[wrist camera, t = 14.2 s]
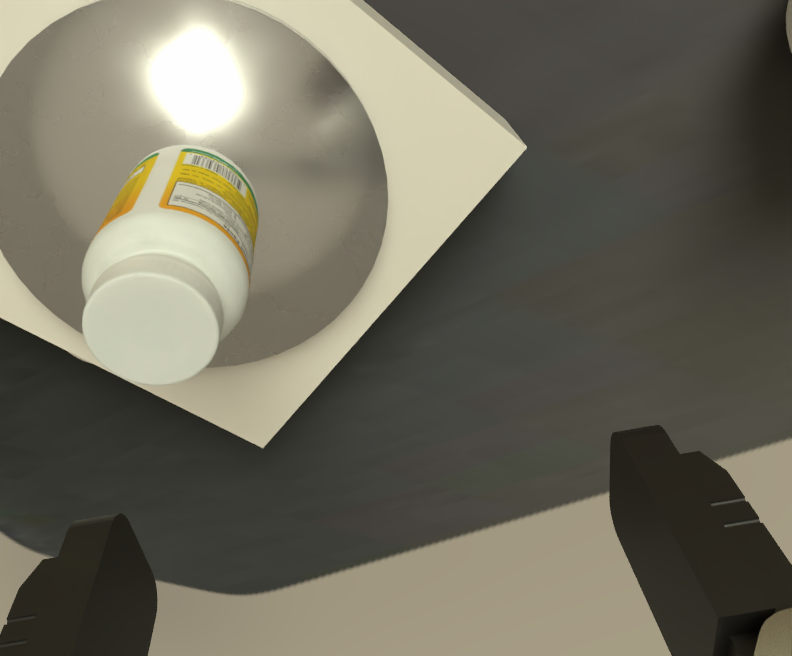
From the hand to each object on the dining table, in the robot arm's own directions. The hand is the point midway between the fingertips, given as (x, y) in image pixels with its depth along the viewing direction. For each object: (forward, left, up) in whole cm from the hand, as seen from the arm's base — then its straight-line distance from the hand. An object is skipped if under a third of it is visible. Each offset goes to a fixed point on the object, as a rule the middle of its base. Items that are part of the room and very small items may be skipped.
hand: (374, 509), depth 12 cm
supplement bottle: (+3, +6, -21) cm, 21 cm away
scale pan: (+3, +6, -21) cm, 22 cm away
